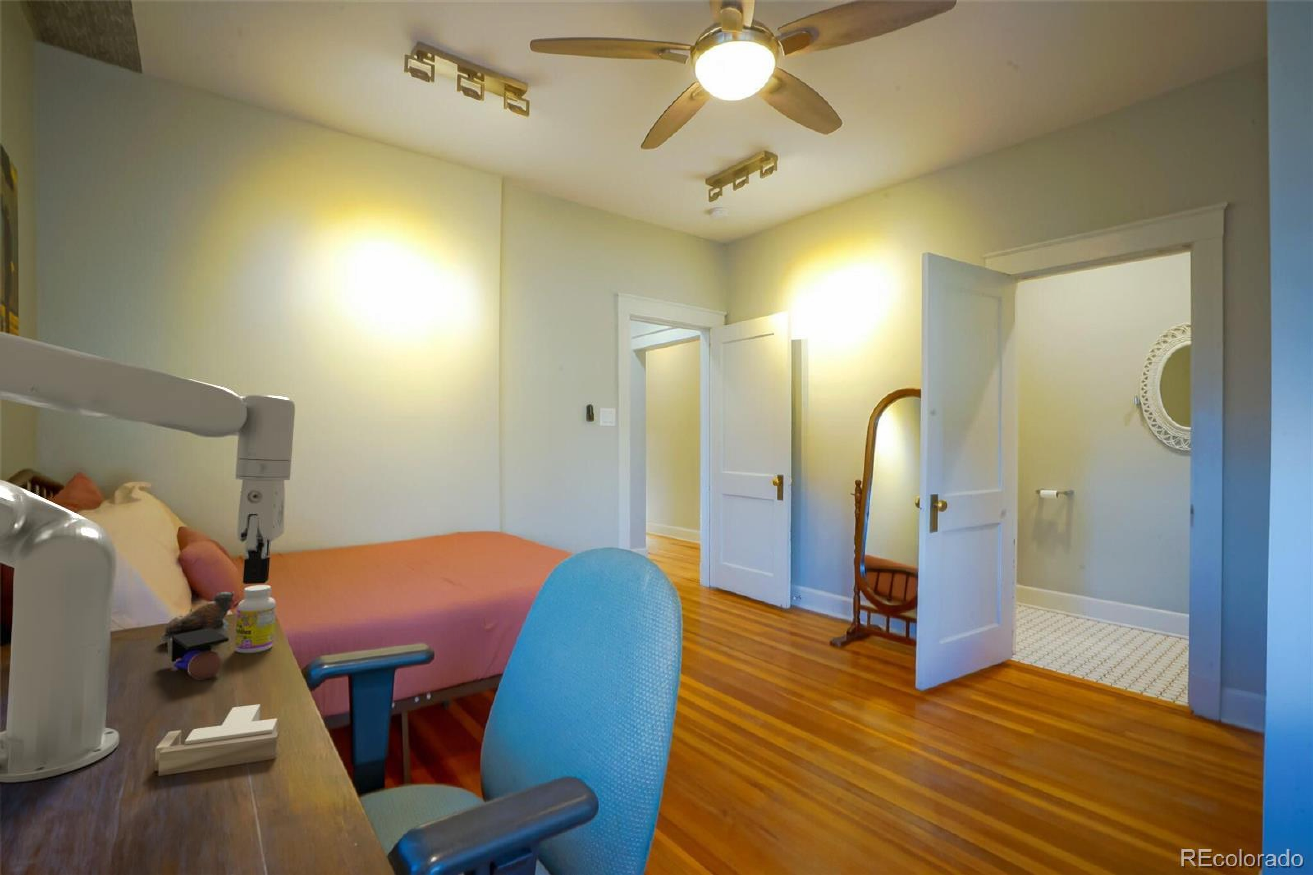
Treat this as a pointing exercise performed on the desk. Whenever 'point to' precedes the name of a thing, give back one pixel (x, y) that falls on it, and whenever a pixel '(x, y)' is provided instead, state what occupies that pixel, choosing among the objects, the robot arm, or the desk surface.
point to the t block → (235, 726)
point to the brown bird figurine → (202, 617)
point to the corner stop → (212, 752)
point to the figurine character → (197, 652)
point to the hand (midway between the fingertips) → (255, 582)
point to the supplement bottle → (255, 620)
